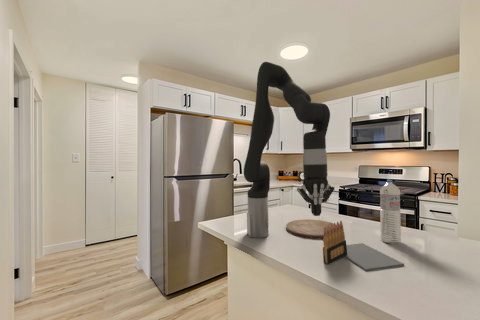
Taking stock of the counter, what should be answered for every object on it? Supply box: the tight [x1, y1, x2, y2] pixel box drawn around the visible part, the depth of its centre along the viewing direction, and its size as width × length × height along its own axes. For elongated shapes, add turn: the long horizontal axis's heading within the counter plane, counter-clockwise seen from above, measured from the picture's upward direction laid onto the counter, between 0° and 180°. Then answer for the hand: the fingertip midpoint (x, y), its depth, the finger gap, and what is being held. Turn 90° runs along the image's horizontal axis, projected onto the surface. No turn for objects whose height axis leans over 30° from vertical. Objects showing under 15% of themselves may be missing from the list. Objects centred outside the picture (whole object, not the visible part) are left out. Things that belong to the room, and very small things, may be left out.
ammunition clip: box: [322, 220, 347, 266], centre depth 77 cm, size 11×2×12 cm, turn 123°
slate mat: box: [343, 242, 405, 272], centre depth 79 cm, size 14×18×1 cm
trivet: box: [285, 218, 335, 240], centre depth 109 cm, size 25×25×2 cm
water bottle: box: [379, 179, 402, 245], centre depth 92 cm, size 7×7×25 cm
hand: (316, 215), depth 76 cm, fingers closed
